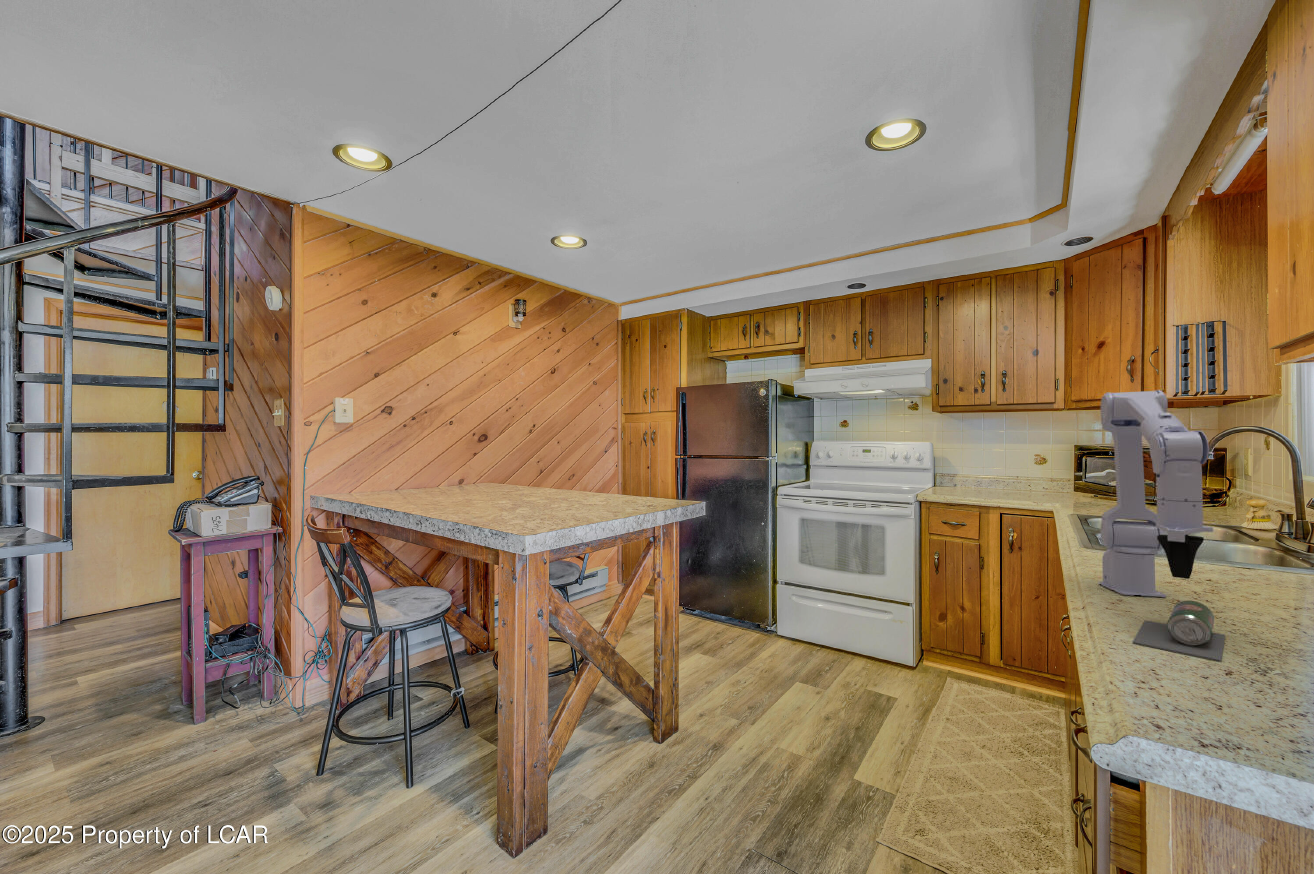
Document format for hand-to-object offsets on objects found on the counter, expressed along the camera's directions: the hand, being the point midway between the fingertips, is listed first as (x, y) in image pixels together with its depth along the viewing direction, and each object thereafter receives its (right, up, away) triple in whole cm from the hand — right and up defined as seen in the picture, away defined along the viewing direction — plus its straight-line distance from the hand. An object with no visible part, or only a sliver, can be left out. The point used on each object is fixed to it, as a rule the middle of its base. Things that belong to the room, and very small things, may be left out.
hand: (1181, 577), depth 92 cm
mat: (-4, -10, -4) cm, 11 cm away
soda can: (+3, -7, +1) cm, 7 cm away
